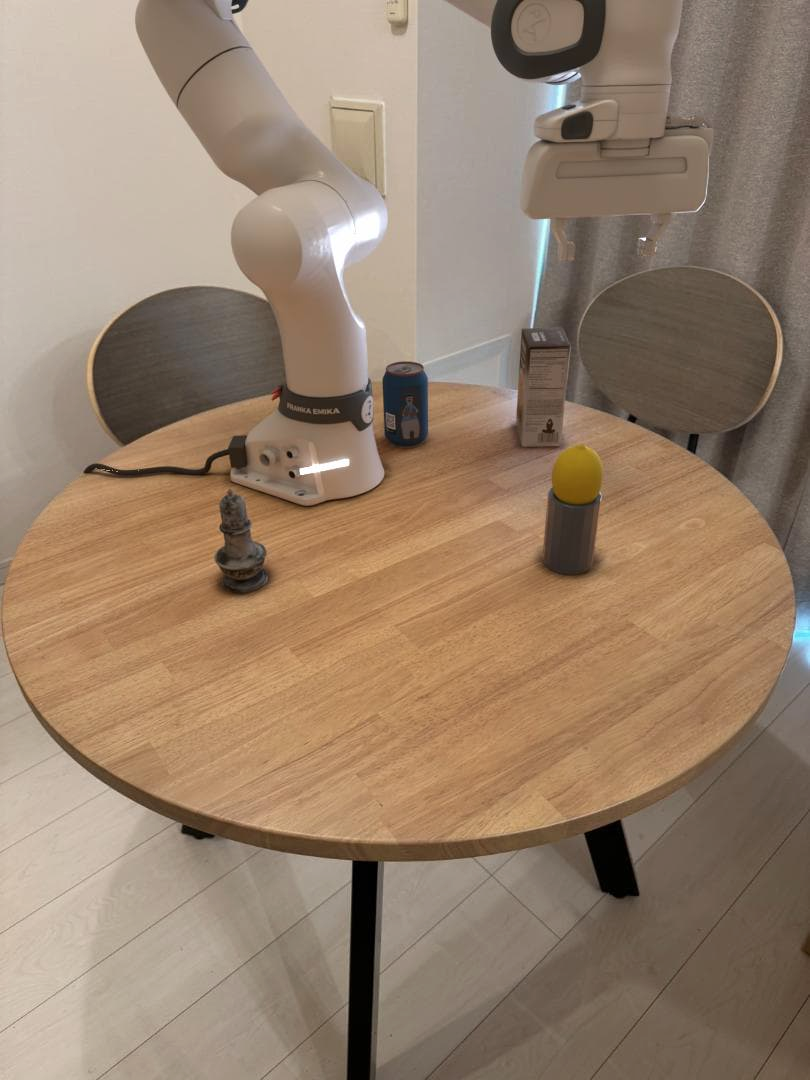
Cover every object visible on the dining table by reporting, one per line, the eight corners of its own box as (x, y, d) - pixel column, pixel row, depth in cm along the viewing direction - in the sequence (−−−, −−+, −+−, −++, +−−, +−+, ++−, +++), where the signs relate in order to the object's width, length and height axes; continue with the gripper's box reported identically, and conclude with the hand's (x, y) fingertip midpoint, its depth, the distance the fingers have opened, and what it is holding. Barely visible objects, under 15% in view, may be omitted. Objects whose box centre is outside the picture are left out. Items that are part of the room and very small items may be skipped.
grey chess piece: (279, 570, 87) (266, 480, 81) (254, 598, 82) (239, 505, 76) (235, 562, 89) (220, 473, 82) (209, 589, 84) (190, 497, 78)
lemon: (544, 516, 82) (550, 451, 78) (554, 493, 87) (561, 431, 82) (594, 525, 81) (602, 458, 76) (602, 501, 85) (611, 437, 81)
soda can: (406, 428, 121) (405, 356, 115) (437, 440, 117) (437, 366, 111) (375, 441, 117) (372, 368, 111) (406, 454, 113) (404, 378, 107)
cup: (537, 569, 86) (543, 502, 81) (548, 544, 91) (555, 479, 86) (587, 579, 84) (596, 511, 79) (596, 553, 89) (605, 487, 84)
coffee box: (514, 423, 122) (520, 326, 113) (553, 423, 122) (562, 326, 113) (521, 447, 114) (528, 345, 105) (562, 447, 114) (572, 344, 105)
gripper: (702, 113, 80) (680, 247, 88) (519, 119, 78) (512, 256, 86) (732, 116, 75) (705, 258, 82) (536, 122, 73) (527, 268, 80)
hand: (605, 257), depth 84 cm, fingers open, 8 cm apart
